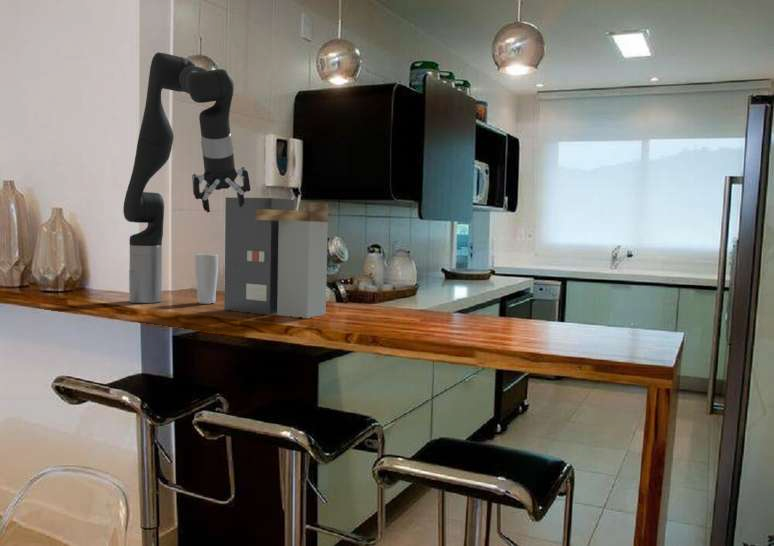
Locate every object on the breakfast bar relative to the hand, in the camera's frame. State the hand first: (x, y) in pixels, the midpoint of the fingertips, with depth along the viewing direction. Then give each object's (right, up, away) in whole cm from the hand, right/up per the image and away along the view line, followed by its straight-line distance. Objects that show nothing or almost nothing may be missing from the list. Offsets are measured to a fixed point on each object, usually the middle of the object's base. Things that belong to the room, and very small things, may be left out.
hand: (224, 208), depth 171 cm
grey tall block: (+19, -29, +9) cm, 36 cm away
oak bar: (+17, -3, +4) cm, 17 cm away
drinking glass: (-12, -27, +28) cm, 40 cm away
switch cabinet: (+6, -28, +15) cm, 32 cm away
